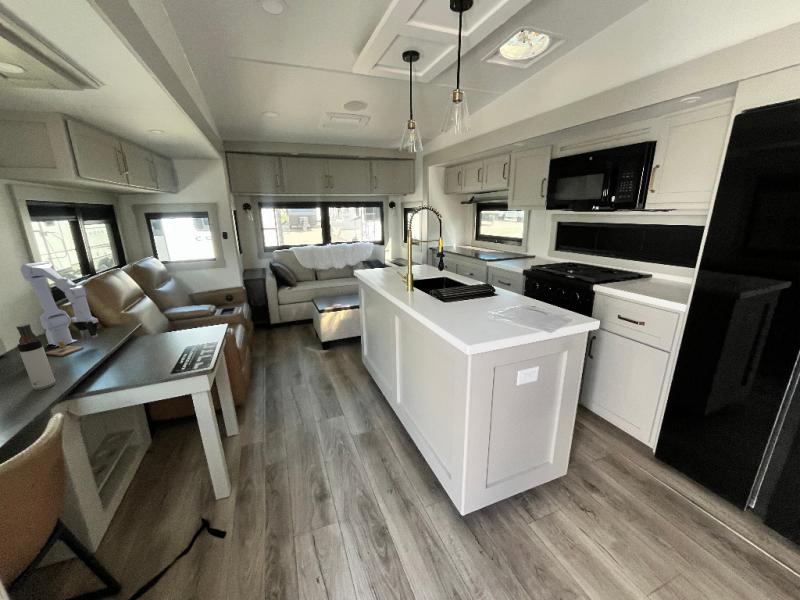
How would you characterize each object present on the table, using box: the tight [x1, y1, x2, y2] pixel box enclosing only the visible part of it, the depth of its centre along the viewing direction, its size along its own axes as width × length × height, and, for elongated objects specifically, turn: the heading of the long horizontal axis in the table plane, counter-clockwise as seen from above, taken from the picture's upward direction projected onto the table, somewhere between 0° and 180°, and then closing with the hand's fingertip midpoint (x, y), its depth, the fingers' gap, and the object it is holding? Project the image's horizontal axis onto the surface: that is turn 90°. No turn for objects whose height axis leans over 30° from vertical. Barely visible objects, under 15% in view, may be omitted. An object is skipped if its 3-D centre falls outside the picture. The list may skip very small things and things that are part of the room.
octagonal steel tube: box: [79, 328, 99, 341], centre depth 166 cm, size 6×6×5 cm
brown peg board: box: [45, 341, 84, 357], centre depth 162 cm, size 12×9×6 cm
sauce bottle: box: [16, 323, 41, 344], centre depth 147 cm, size 6×6×20 cm
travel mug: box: [16, 339, 57, 391], centre depth 129 cm, size 6×7×20 cm
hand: (89, 334), depth 166 cm, fingers closed on octagonal steel tube, 5 cm apart
